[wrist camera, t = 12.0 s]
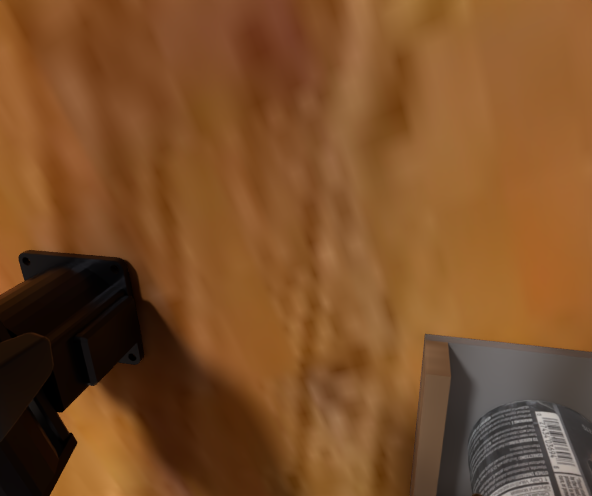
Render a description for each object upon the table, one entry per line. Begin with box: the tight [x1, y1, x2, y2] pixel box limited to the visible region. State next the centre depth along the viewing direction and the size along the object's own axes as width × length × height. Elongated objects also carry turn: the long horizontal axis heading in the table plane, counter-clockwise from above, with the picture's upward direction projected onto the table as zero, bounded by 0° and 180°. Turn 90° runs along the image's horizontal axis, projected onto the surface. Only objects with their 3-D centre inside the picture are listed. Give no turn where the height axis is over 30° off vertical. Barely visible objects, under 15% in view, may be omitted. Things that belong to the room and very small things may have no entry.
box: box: [410, 334, 592, 496], centre depth 21 cm, size 11×11×3 cm
